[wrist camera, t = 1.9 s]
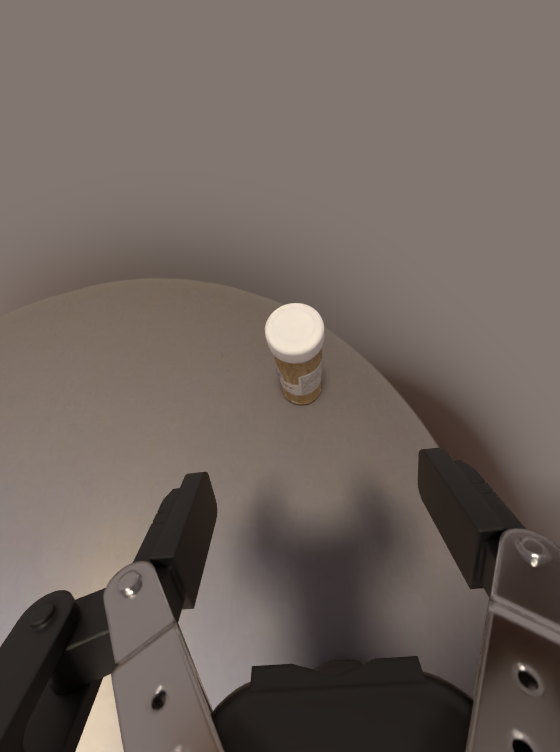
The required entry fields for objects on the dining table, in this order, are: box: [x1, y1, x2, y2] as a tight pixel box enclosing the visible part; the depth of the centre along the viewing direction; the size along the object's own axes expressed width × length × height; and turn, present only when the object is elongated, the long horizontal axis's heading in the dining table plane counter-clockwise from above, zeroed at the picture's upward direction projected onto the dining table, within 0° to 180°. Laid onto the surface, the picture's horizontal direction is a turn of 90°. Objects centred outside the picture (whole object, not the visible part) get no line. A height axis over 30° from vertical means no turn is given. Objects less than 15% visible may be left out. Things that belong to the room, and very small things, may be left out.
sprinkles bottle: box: [265, 303, 324, 405], centre depth 30 cm, size 5×5×13 cm
